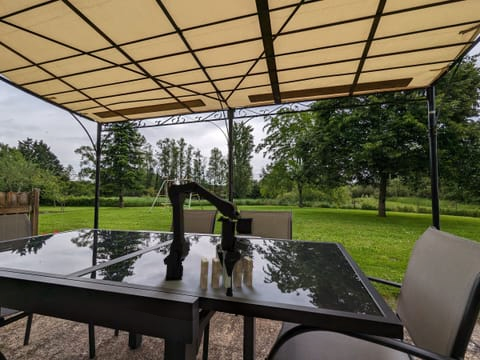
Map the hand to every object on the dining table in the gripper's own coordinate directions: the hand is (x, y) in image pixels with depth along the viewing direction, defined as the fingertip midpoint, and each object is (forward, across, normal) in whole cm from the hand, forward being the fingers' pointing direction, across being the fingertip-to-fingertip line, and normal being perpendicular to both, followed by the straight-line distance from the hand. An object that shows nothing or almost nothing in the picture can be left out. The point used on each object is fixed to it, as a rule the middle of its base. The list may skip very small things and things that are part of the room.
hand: (226, 273), depth 92 cm
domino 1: (+4, 0, +9) cm, 10 cm away
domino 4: (+4, 0, -4) cm, 6 cm away
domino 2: (+4, 0, +4) cm, 6 cm away
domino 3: (+4, 0, 0) cm, 4 cm away
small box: (+5, +24, -4) cm, 25 cm away
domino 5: (+4, 0, -9) cm, 10 cm away
